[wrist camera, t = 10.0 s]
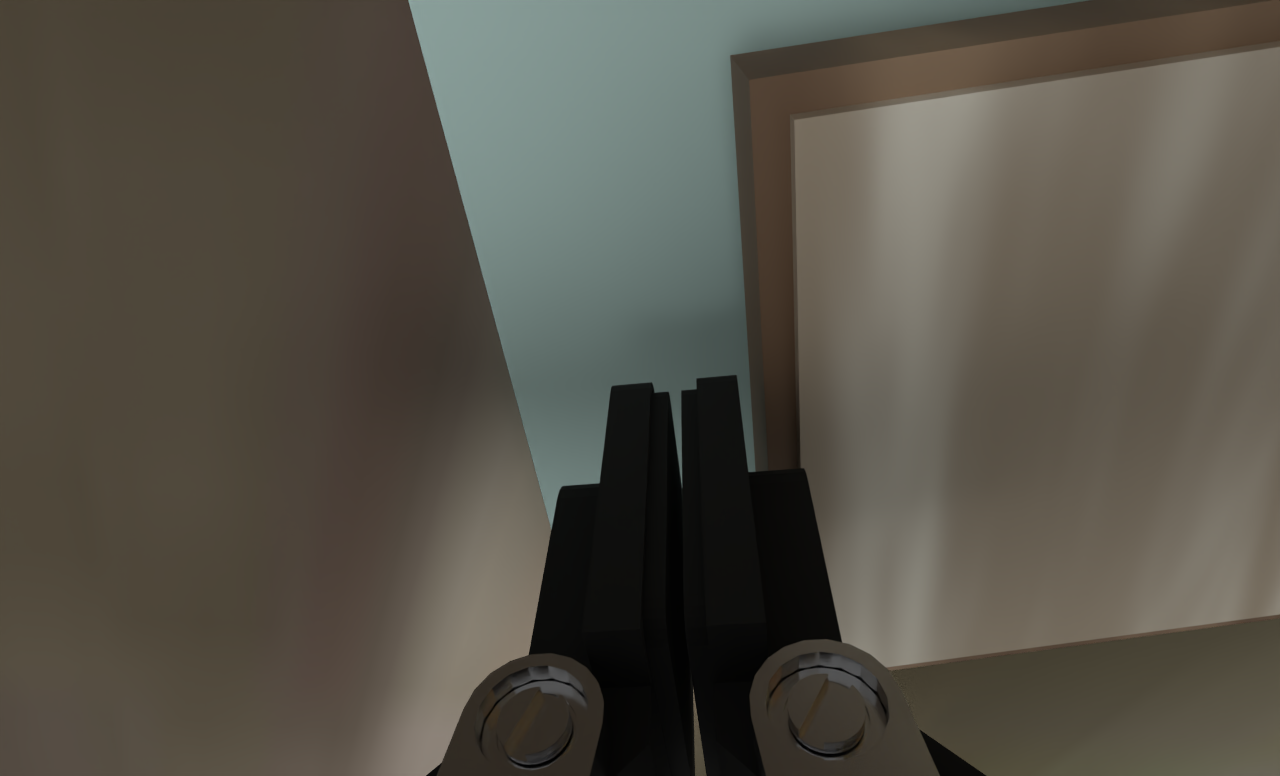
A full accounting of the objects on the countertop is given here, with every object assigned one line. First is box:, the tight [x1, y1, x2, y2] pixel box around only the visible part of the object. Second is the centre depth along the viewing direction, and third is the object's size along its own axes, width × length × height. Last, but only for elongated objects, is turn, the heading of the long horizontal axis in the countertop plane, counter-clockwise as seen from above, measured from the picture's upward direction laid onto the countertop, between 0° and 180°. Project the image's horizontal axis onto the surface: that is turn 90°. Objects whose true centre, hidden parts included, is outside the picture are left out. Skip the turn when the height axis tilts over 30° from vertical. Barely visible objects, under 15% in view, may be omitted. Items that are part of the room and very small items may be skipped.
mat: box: [408, 0, 1089, 530], centre depth 12 cm, size 20×14×1 cm
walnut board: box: [730, 0, 1280, 671], centre depth 11 cm, size 1×10×14 cm
